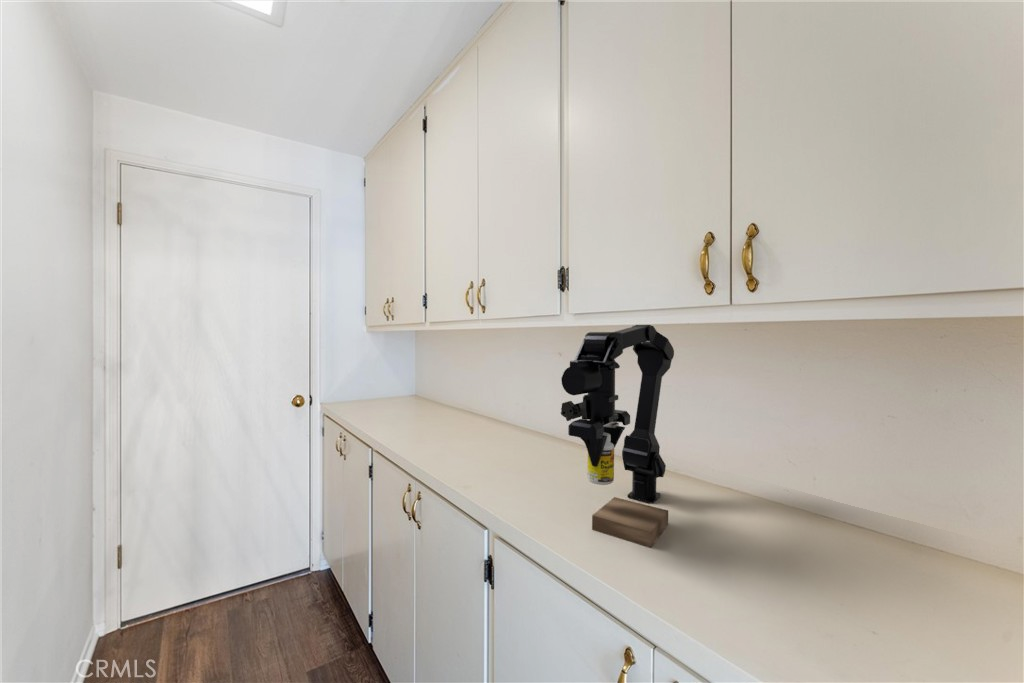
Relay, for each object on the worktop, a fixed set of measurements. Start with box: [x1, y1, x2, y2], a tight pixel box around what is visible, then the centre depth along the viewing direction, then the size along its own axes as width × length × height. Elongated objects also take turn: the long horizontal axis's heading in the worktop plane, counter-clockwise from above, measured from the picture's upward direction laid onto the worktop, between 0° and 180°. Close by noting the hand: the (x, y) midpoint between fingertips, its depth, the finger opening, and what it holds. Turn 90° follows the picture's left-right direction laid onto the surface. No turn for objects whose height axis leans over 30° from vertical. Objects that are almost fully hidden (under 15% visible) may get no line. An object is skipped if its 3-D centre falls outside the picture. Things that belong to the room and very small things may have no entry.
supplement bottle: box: [587, 432, 615, 486], centre depth 88 cm, size 6×6×10 cm
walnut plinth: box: [591, 496, 669, 549], centre depth 85 cm, size 12×12×3 cm
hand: (600, 462), depth 88 cm, fingers closed on supplement bottle, 6 cm apart
